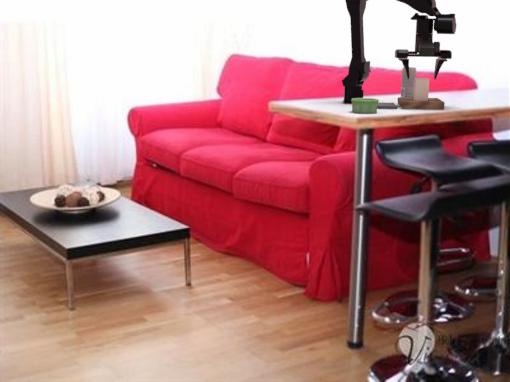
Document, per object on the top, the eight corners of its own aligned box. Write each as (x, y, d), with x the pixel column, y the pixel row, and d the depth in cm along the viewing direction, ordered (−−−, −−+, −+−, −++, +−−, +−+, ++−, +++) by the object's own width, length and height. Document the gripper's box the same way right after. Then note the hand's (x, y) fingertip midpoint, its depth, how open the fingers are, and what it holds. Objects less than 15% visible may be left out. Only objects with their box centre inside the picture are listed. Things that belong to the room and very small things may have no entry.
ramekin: (375, 111, 258) (376, 97, 257) (380, 114, 249) (381, 100, 248) (349, 110, 257) (349, 97, 256) (352, 114, 249) (353, 100, 248)
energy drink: (414, 98, 294) (415, 67, 292) (415, 100, 289) (417, 68, 286) (399, 98, 295) (401, 67, 292) (401, 100, 290) (402, 68, 287)
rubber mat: (367, 108, 263) (367, 105, 263) (365, 105, 273) (365, 102, 272) (397, 109, 262) (397, 106, 262) (393, 105, 272) (393, 102, 272)
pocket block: (402, 109, 262) (403, 101, 262) (397, 104, 276) (397, 97, 275) (444, 109, 262) (444, 102, 261) (436, 104, 275) (437, 97, 275)
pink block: (414, 107, 267) (416, 78, 264) (413, 106, 271) (414, 77, 269) (427, 107, 266) (429, 78, 264) (425, 106, 271) (427, 77, 268)
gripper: (400, 33, 256) (397, 80, 259) (456, 34, 255) (453, 81, 258) (395, 33, 266) (393, 78, 270) (449, 33, 266) (446, 78, 269)
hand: (421, 79), depth 267 cm, fingers open, 9 cm apart
